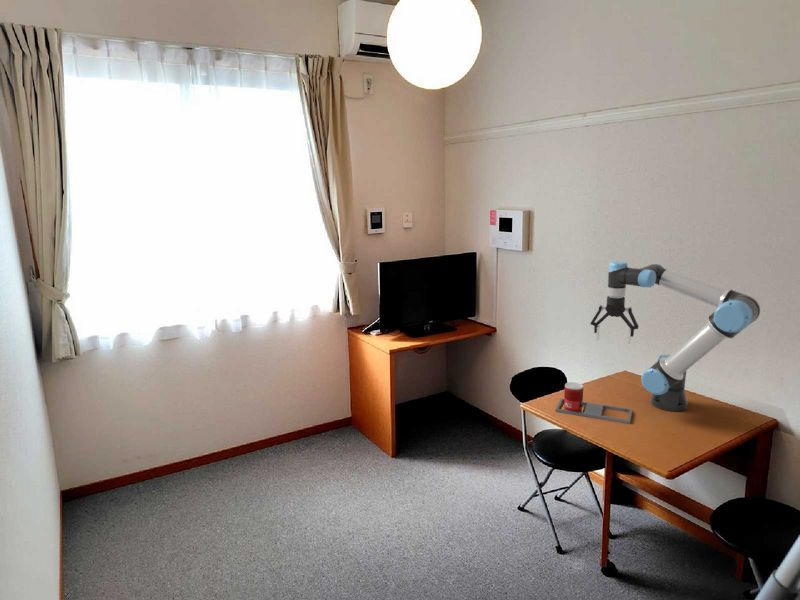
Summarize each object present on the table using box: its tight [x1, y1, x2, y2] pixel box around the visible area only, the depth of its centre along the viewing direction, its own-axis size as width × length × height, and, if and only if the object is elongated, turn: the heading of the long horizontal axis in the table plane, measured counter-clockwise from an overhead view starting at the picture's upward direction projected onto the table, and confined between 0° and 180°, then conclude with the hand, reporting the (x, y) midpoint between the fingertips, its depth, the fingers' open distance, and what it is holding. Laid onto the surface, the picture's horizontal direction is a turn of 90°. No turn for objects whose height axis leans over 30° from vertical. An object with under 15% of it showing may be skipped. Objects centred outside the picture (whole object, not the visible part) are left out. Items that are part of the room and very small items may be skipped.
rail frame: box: [555, 398, 633, 425], centre depth 245 cm, size 31×13×1 cm, turn 64°
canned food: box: [563, 382, 584, 411], centre depth 248 cm, size 8×8×11 cm
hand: (613, 341), depth 251 cm, fingers open, 13 cm apart
